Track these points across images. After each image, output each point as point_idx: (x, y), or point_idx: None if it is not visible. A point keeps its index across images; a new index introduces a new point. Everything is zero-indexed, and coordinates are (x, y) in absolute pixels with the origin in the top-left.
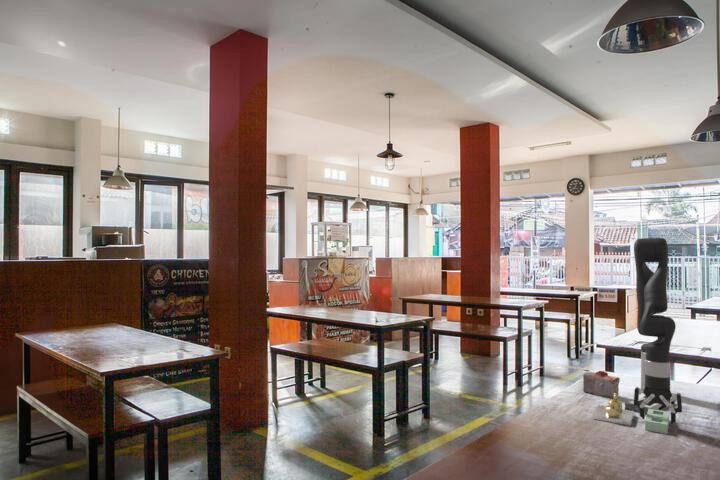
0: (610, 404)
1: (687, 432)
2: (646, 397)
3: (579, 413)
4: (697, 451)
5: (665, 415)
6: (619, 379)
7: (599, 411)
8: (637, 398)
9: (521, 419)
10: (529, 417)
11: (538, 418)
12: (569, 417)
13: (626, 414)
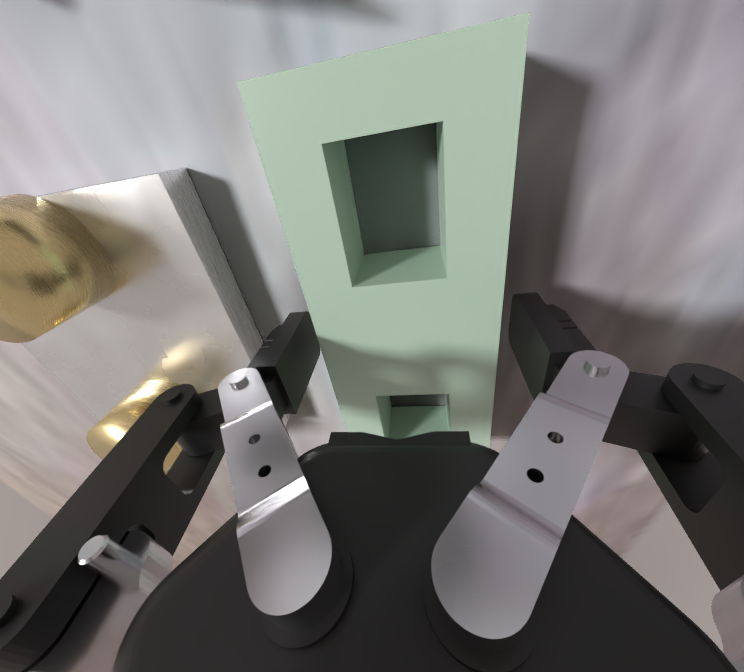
0: None
1: (612, 334)
2: (235, 469)
3: (27, 375)
4: (585, 524)
5: (473, 273)
6: None
7: (68, 368)
8: (191, 511)
9: (54, 514)
10: (40, 496)
11: (57, 492)
12: (75, 443)
13: (188, 323)
